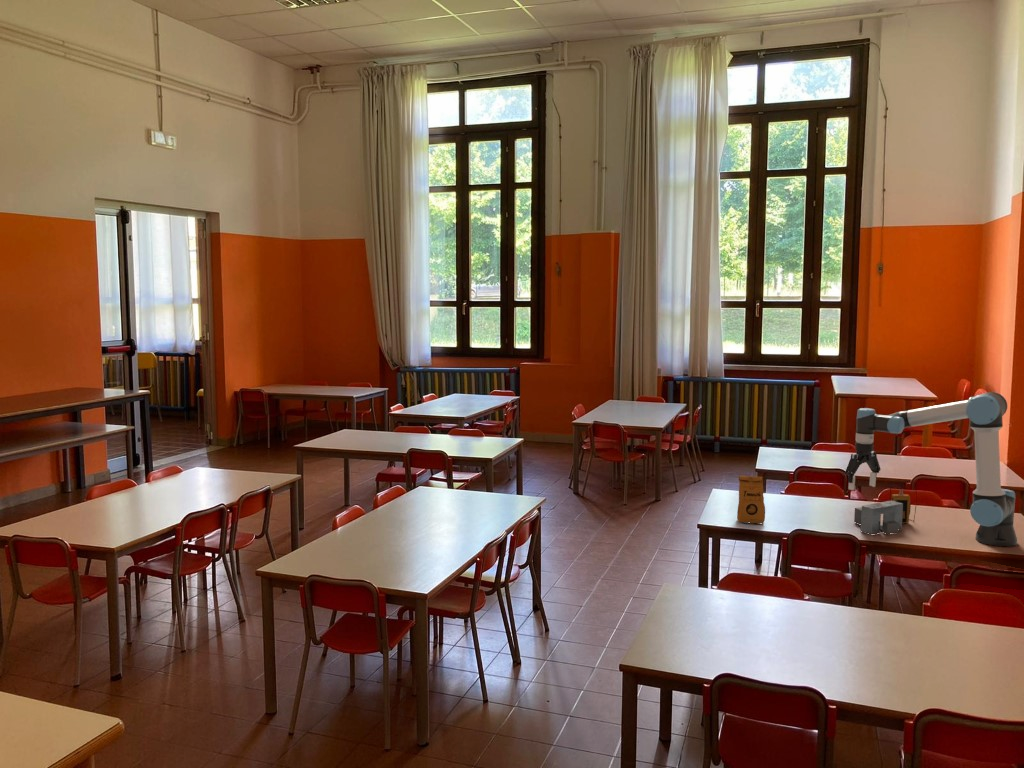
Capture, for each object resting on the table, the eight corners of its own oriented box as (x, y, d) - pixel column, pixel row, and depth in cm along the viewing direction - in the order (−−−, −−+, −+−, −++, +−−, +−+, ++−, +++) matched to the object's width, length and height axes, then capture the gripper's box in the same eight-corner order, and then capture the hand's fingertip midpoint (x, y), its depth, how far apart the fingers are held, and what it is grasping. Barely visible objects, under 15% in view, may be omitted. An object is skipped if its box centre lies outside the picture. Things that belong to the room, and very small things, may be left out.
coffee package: (764, 526, 366) (766, 479, 364) (736, 524, 370) (737, 477, 367) (764, 520, 376) (766, 474, 373) (737, 518, 379) (738, 473, 377)
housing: (901, 529, 359) (903, 503, 358) (872, 535, 351) (873, 509, 350) (890, 526, 365) (891, 500, 363) (860, 531, 356) (861, 505, 355)
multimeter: (908, 517, 378) (910, 476, 376) (917, 523, 368) (919, 481, 366) (876, 517, 379) (878, 475, 377) (884, 523, 369) (886, 480, 367)
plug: (899, 533, 354) (899, 518, 353) (886, 535, 352) (886, 519, 351) (866, 521, 373) (867, 506, 372) (854, 522, 371) (854, 508, 370)
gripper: (851, 446, 354) (849, 493, 357) (890, 441, 365) (887, 486, 368) (838, 443, 361) (835, 489, 364) (876, 438, 372) (874, 483, 375)
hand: (861, 488), depth 366 cm, fingers open, 13 cm apart
